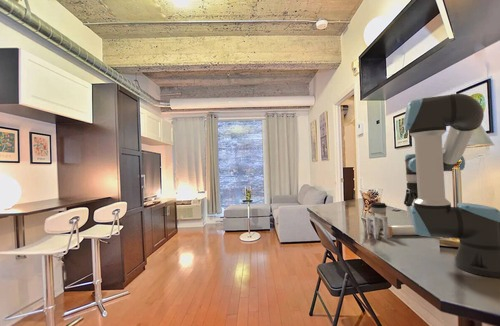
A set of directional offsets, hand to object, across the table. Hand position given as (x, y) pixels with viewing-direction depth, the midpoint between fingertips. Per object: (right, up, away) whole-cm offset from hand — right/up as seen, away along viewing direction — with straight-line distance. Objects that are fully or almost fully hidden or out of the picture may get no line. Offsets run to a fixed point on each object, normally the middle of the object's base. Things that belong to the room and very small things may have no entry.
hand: (417, 220), depth 131 cm
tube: (-6, -8, 0) cm, 10 cm away
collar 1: (-24, -9, +2) cm, 25 cm away
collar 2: (-19, -9, +1) cm, 21 cm away
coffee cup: (-11, -9, +18) cm, 23 cm away
